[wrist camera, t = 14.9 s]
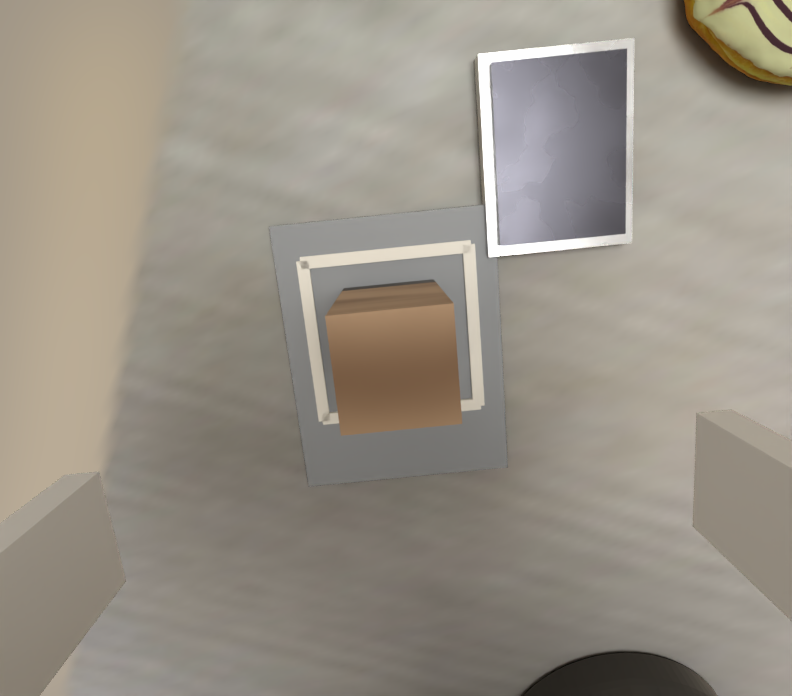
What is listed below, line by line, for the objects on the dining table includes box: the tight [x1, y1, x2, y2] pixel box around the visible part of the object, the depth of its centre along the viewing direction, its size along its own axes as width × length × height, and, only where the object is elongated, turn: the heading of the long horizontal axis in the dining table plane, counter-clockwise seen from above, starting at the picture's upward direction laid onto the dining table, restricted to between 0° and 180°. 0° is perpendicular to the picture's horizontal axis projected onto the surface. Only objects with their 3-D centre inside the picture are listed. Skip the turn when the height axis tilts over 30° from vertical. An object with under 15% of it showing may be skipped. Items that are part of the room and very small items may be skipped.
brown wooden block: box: [325, 279, 462, 436], centre depth 22 cm, size 4×4×8 cm
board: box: [269, 205, 508, 487], centre depth 27 cm, size 14×11×1 cm
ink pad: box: [474, 38, 634, 257], centre depth 24 cm, size 9×7×1 cm
